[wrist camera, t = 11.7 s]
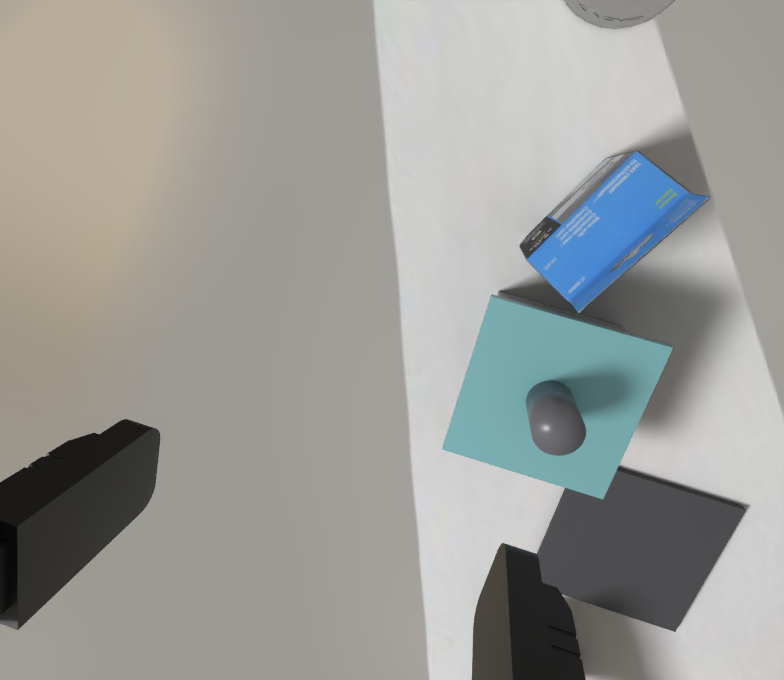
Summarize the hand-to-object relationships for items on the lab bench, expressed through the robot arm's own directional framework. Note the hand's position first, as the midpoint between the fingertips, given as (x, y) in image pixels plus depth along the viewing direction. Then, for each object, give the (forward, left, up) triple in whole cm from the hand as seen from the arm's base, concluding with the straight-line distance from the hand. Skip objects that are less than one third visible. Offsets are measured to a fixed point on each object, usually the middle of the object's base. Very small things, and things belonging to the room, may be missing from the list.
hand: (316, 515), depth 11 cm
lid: (+5, +10, -25) cm, 27 cm away
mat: (+19, +23, -32) cm, 44 cm away
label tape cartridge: (-7, +9, -32) cm, 34 cm away
